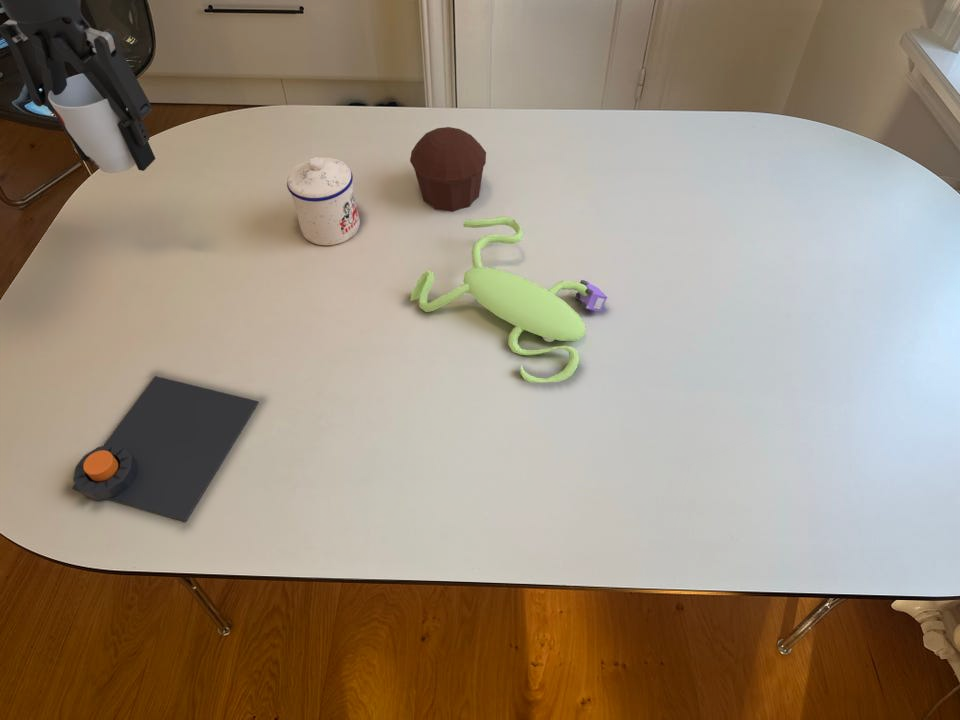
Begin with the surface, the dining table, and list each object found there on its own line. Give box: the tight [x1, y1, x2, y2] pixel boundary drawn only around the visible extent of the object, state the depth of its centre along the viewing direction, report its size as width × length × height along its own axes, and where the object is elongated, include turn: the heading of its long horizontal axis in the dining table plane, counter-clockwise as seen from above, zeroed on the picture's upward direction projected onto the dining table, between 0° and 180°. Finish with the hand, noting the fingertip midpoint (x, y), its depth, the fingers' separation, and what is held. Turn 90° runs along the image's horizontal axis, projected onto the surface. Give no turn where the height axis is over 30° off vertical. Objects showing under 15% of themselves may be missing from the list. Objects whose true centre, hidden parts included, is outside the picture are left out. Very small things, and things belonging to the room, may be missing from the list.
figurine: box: [409, 215, 608, 384], centre depth 91 cm, size 18×27×6 cm
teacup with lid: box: [286, 156, 361, 246], centre depth 101 cm, size 12×9×12 cm
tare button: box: [83, 450, 118, 481], centre depth 75 cm, size 3×3×2 cm
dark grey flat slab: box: [71, 375, 260, 523], centre depth 79 cm, size 14×16×3 cm
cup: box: [48, 73, 137, 174], centre depth 87 cm, size 8×8×10 cm
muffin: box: [409, 126, 487, 213], centre depth 105 cm, size 12×11×10 cm
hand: (118, 159), depth 91 cm, fingers closed on cup, 8 cm apart
